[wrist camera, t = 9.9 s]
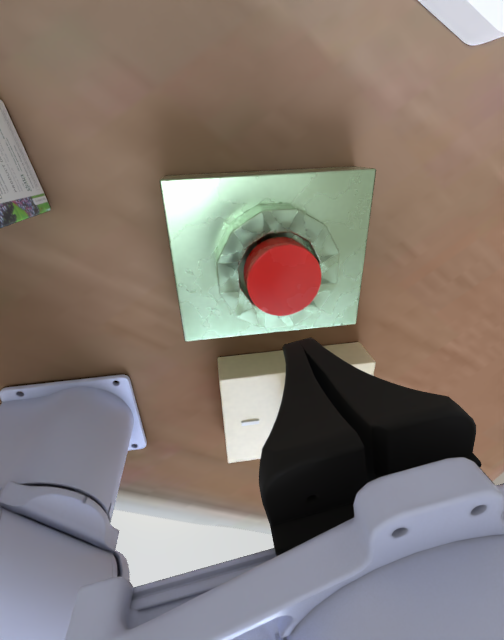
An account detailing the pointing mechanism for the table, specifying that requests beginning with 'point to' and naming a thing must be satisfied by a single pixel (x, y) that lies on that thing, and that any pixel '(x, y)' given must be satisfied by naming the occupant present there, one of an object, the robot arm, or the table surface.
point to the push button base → (257, 226)
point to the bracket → (470, 18)
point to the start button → (281, 276)
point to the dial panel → (263, 395)
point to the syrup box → (17, 177)
